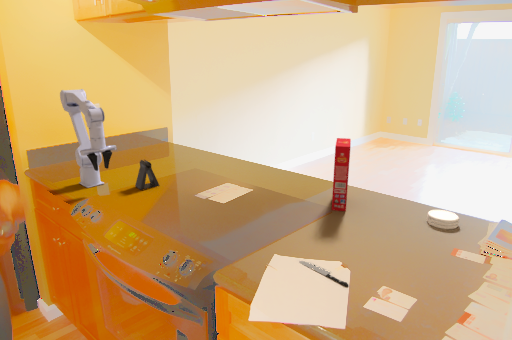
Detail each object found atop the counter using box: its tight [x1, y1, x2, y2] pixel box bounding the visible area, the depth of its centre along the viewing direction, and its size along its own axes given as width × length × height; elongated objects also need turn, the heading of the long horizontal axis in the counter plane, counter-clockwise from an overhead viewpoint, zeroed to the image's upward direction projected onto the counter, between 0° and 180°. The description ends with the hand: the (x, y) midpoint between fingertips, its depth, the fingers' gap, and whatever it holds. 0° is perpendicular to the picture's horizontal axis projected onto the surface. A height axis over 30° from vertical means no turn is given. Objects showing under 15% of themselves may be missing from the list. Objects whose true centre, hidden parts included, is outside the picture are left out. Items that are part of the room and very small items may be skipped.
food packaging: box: [331, 137, 352, 212], centre depth 146 cm, size 15×5×25 cm, turn 166°
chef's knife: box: [298, 260, 349, 288], centre depth 102 cm, size 19×1×3 cm
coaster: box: [426, 209, 460, 230], centre depth 131 cm, size 10×10×4 cm
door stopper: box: [135, 159, 160, 191], centre depth 168 cm, size 9×6×12 cm, turn 128°
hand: (101, 169), depth 159 cm, fingers open, 4 cm apart
